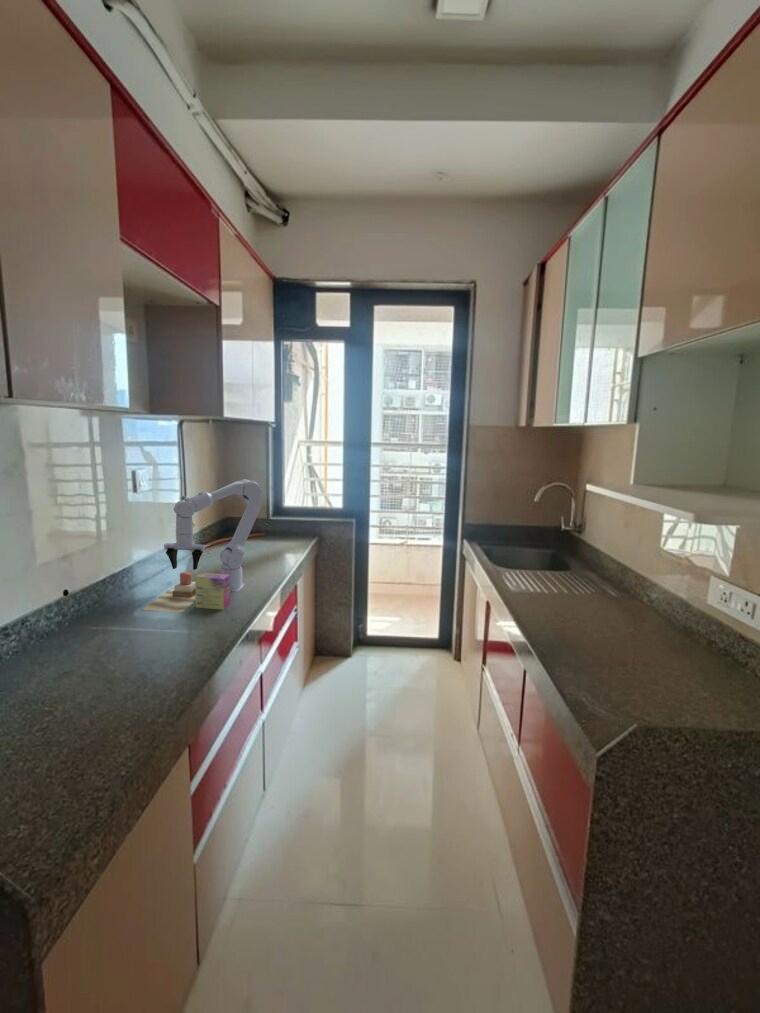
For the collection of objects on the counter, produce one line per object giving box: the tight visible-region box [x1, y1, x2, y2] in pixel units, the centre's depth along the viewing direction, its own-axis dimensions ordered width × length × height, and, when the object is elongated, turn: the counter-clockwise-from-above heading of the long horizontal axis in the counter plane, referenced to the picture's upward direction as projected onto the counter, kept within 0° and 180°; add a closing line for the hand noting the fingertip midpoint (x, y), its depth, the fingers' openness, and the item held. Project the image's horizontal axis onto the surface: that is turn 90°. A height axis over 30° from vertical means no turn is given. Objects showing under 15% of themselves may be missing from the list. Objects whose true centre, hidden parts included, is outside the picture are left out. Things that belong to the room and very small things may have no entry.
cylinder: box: [179, 571, 193, 585], centre depth 177 cm, size 4×4×4 cm
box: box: [195, 571, 231, 611], centre depth 166 cm, size 10×6×12 cm, turn 84°
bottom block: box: [173, 588, 196, 597], centre depth 177 cm, size 7×7×2 cm
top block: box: [173, 581, 196, 592], centre depth 177 cm, size 6×6×2 cm
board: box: [140, 587, 196, 613], centre depth 172 cm, size 24×14×1 cm, turn 0°
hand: (185, 568), depth 176 cm, fingers open, 7 cm apart
